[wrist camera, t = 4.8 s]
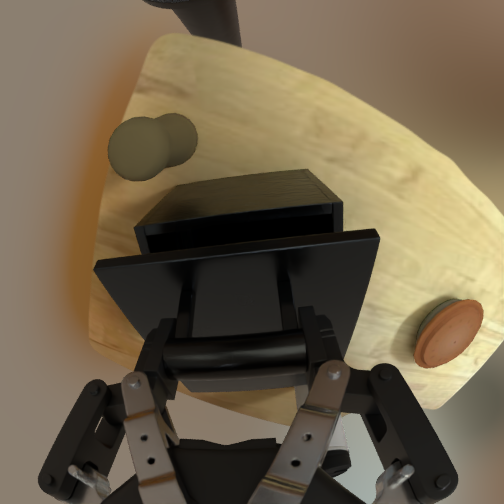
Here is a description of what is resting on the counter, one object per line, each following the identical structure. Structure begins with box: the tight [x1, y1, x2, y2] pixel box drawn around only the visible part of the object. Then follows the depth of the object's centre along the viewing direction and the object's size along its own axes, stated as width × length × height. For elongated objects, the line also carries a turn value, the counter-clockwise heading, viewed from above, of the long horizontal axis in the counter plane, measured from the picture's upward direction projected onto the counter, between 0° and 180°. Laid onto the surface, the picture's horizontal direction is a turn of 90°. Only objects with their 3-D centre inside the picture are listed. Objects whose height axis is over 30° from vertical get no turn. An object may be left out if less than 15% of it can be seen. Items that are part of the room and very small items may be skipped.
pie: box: [413, 299, 483, 368], centre depth 38 cm, size 15×16×5 cm
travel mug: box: [294, 385, 351, 478], centre depth 35 cm, size 6×7×20 cm
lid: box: [93, 228, 380, 392], centre depth 18 cm, size 19×15×6 cm
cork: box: [108, 113, 198, 181], centre depth 23 cm, size 6×6×11 cm
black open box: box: [134, 169, 343, 254], centre depth 28 cm, size 18×15×13 cm
